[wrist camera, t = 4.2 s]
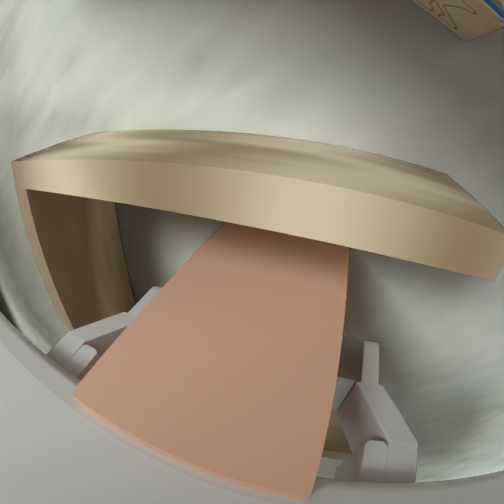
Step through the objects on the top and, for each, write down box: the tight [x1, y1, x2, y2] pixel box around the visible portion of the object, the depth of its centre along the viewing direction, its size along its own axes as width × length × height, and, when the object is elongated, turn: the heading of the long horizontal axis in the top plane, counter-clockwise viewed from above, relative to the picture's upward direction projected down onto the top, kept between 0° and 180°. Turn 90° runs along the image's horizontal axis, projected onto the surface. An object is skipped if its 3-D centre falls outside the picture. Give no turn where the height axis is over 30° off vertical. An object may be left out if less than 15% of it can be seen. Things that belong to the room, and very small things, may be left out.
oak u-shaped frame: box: [11, 130, 504, 460], centre depth 10 cm, size 14×11×4 cm
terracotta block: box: [71, 222, 349, 500], centre depth 8 cm, size 4×4×8 cm
